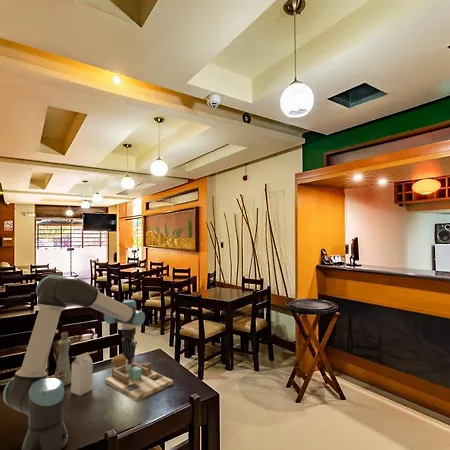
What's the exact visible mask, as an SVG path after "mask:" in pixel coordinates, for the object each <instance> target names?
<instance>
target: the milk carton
mask: <svg viewBox="0 0 450 450" xmlns="http://www.w3.org/2000/svg"><path fill="white" fill-rule="evenodd" d="M75 357H76V358H75V359H74V360H73V362H71V383H70V386H71V387H70V388H71V389H70V392H71V393H72V394H74V395H78V396H82V395H84V394H86V393H88V392H90V391H92V390H93V359H92V357H91V356H90V354H89V352H85V353H82V354H79V355H77V356H75Z"/></svg>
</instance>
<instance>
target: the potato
mask: <svg viewBox="0 0 450 450" xmlns="http://www.w3.org/2000/svg"><path fill="white" fill-rule="evenodd" d="M134 361H135V356H134V357H133V358H132V362H134ZM110 362H111V365H112V366H114V368H115V369H116V368H118V367H121V366H124V365H126V358H125V356H123V352H122V353H120V354H118V355H115V356H113V358H112V359H111V361H110Z"/></svg>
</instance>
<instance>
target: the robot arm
mask: <svg viewBox="0 0 450 450" xmlns="http://www.w3.org/2000/svg"><path fill="white" fill-rule="evenodd" d="M35 294H36V297H37V302H36V305H37V307H38V308H39V310H38V313H37V316H36V319H35V323H34V326H33V329H32V332H31V335H30V339H29V342H28V345H27V348H26V352H25V355H24V358H23V362H22V364H21V368H20V369H18V370H17V371H16V372H15V373H14V376H13V377H12V378H11V379H10V380H9V381H8V382H7V383H6V385H5V386H4V389H3V392H2V399H3V402H4V404H5V405H7V406H8V407H9V408H10V409H12V410H15V411H17V412H20V413H22V414H25V415H27V416H28V422H27V423H28V424H27V425H28V426H27V431H26V434H25V437H24V440H23V443H22V445H21V450H62V449H63V448H64V447H65V446H66V445H67V443H68V437H69V435H68V430H67V428H66V424H65V422H64V405H65V386H64V384H63V382H62V381H61V380H59V379H57V378H54V377H51V378H50V377H47V376H48V372H47V371H46V366H47V362H48V359H49V355H50V352H51V348H52V344H53V340H54V337H55V334H56V331H57V327H58V323H59V321H60V320H59V319H60V316H61V313H62V311H64V310H65V309H66V308H67V305H75V306H80V307H82V308H84V309H86V308H87V309H88V308H91V309H94V310H95V311H99V312H100V313H102V314H103V320H104V321H105V323H106V324H114V323H118V324H119V323H120V324H121V329H122V330H121V335H122V336H123V337H121V338H120V340H121V346H122V347H121V348H122V353H123V356H125V358H126V370H129V369H130V368H131V363H132V358H133V357H134V358H135V355H136V354H135V353H136V349H137V348H136V347H137V344H138V341H135V335H136V333H137V328H136V326H137V327H140V326H141V325H143V324H144V322H145V320H146V314H145V312H144V311H142V310H137V302H136V300H134V299H125V300H123V301H122V302H120V301H118V300H116V299H114V298H112V297H110V296H108V295H106V294H104V293H102V292H100V291H99V289H98V287H96V286H94V285H92V284H90V283H89V282H86V281H85V280H83V279H81V278H78V277H75V276H68V275H67V276H66V275H60V274H55V275H54V274H53V275H47V276H45V277H43V278H42V279H41V280H40V281H39V282H38V283H37V285H36V287H35Z"/></svg>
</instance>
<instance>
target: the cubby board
mask: <svg viewBox="0 0 450 450" xmlns="http://www.w3.org/2000/svg"><path fill="white" fill-rule="evenodd" d="M136 366H137V367H139V368H141V369H142V371H141V378H140V379H137V380H135V381H133V380H131V379H129V376H128V375H129V370H126V365H124V366H121V367H118V368H116V367H115V368H113V369H111V375H110V376H108V377H106V378H105V380H104V382H105V383H106V384H107V385H108V386H111V387H113V388H114V389H115V390H117V391H119V392H120V393H122V394H124V395H126V396H127V397H128V398H131V399H132V400H134V401H135V402H138V401H140V400H142V399H143V398H146V397H148V396H151V395H152V394H155V393H156V392H159V391H160V390H163V389H165V388H167V387H170V386H171V385H173V383H174V381H173V379H171V378H169V377H166V376H164V375H162V374H160V373H159V372H156V371H154V370H152V369H151V370H150V371H149V369H148V368H145V367H143V366H141V364H139V363H137V362H134V361H133V362H132V363H131V368H133V367H136ZM156 378H157V379H156ZM154 379H155V380H154Z"/></svg>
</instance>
